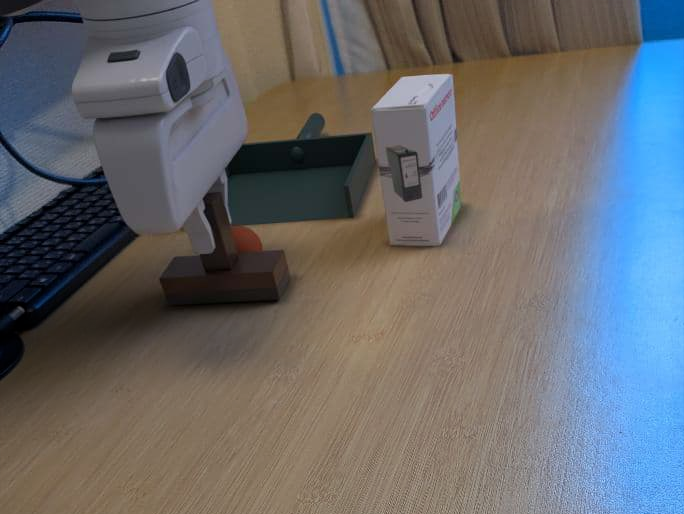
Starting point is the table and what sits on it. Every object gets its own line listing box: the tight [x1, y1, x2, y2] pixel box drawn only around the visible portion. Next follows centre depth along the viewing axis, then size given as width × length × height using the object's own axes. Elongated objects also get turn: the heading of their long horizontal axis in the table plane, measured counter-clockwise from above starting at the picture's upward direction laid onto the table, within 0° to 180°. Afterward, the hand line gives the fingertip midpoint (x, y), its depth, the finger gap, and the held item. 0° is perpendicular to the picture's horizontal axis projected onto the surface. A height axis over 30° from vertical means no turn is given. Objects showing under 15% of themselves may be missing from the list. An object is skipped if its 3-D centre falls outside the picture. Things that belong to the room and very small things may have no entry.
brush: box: [158, 192, 291, 306], centre depth 68 cm, size 10×4×8 cm, turn 82°
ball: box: [230, 225, 264, 253], centre depth 73 cm, size 4×4×4 cm
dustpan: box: [225, 112, 377, 227], centre depth 89 cm, size 26×17×3 cm, turn 171°
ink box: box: [370, 73, 462, 247], centre depth 72 cm, size 9×5×12 cm, turn 161°
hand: (213, 239), depth 68 cm, fingers closed on brush, 2 cm apart
